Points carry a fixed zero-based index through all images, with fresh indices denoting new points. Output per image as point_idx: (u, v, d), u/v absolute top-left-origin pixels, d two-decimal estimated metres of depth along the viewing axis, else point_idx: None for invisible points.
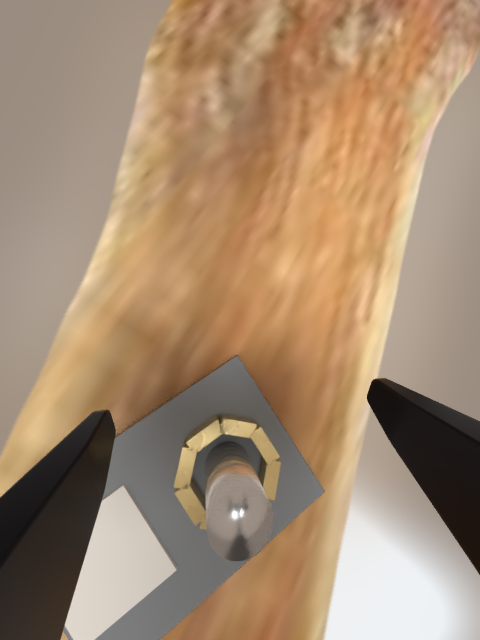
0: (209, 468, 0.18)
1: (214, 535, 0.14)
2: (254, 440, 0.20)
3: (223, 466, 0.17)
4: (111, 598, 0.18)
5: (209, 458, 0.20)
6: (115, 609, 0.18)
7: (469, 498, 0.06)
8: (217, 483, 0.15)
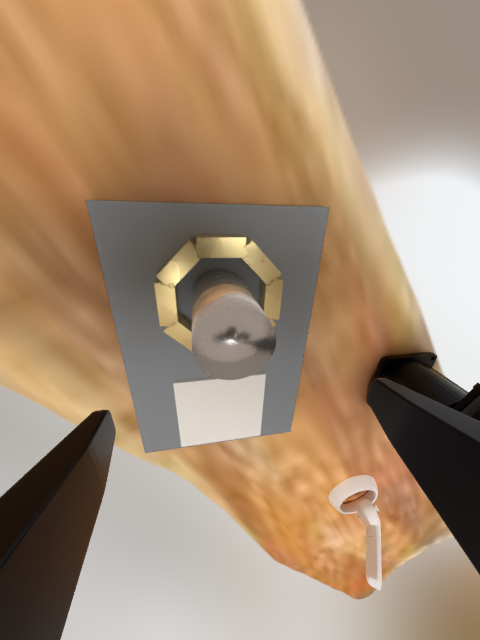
0: None
1: (225, 373, 0.12)
2: (206, 255, 0.14)
3: (192, 315, 0.13)
4: (247, 414, 0.23)
5: None
6: (255, 414, 0.23)
7: (469, 498, 0.06)
8: None
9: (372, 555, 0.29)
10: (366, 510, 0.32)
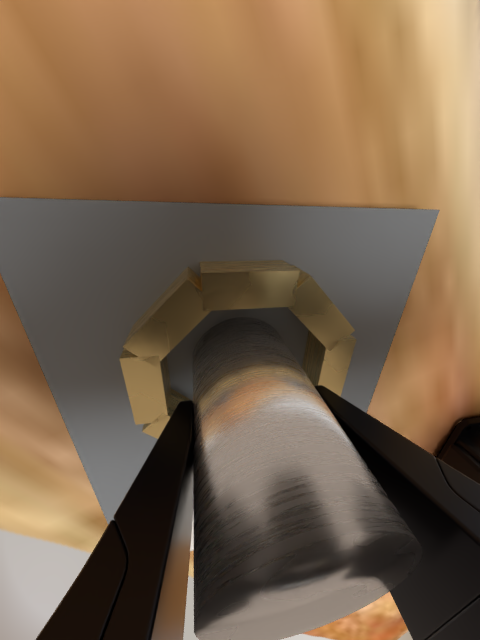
0: None
1: (279, 634, 0.05)
2: (221, 306, 0.07)
3: (193, 445, 0.06)
4: None
5: None
6: None
7: None
8: None
9: None
10: None
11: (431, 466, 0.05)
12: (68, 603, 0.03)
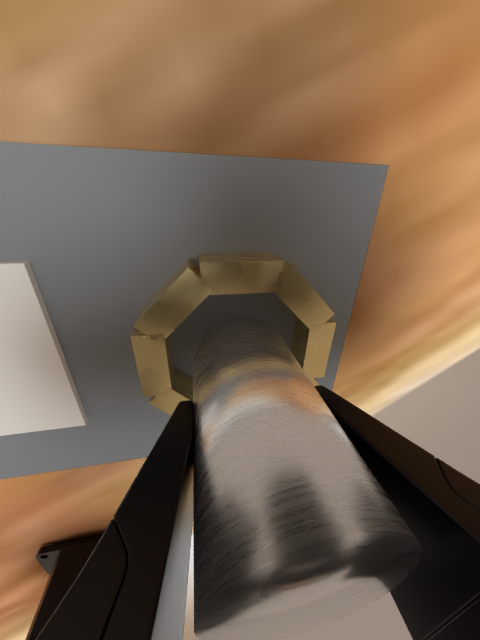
0: None
1: (279, 634, 0.05)
2: (311, 335, 0.10)
3: (193, 445, 0.06)
4: None
5: None
6: None
7: None
8: None
9: None
10: None
11: (431, 466, 0.05)
12: (68, 603, 0.03)
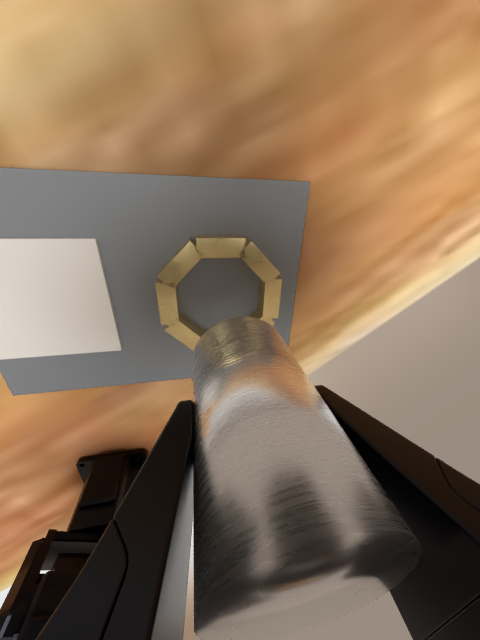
0: None
1: (279, 633, 0.05)
2: (266, 287, 0.16)
3: (193, 444, 0.06)
4: (44, 337, 0.16)
5: None
6: (45, 347, 0.17)
7: None
8: None
9: None
10: None
11: (431, 466, 0.05)
12: (68, 603, 0.03)
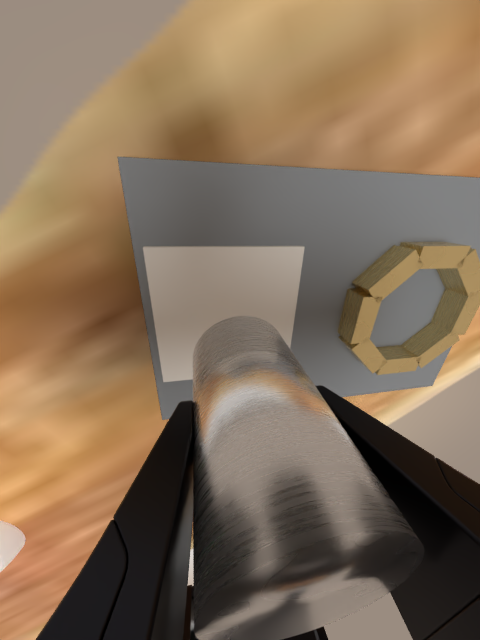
0: None
1: (280, 634, 0.05)
2: (467, 301, 0.14)
3: (193, 444, 0.06)
4: None
5: None
6: None
7: None
8: None
9: None
10: None
11: (431, 466, 0.05)
12: (68, 603, 0.03)
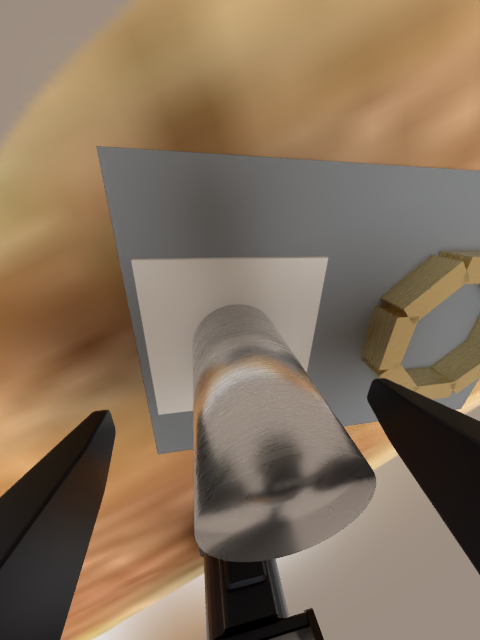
0: None
1: (264, 553, 0.06)
2: None
3: (194, 408, 0.07)
4: None
5: None
6: None
7: (469, 498, 0.06)
8: None
9: None
10: None
11: None
12: None
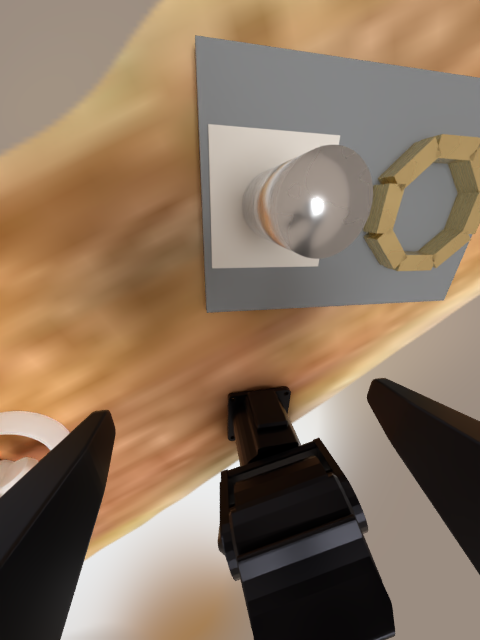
0: (253, 221, 0.13)
1: (309, 247, 0.10)
2: (478, 197, 0.16)
3: (259, 196, 0.11)
4: (259, 245, 0.16)
5: (247, 218, 0.14)
6: (256, 257, 0.17)
7: (469, 498, 0.06)
8: (266, 211, 0.10)
9: None
10: (28, 470, 0.18)
11: None
12: None
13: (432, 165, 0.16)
